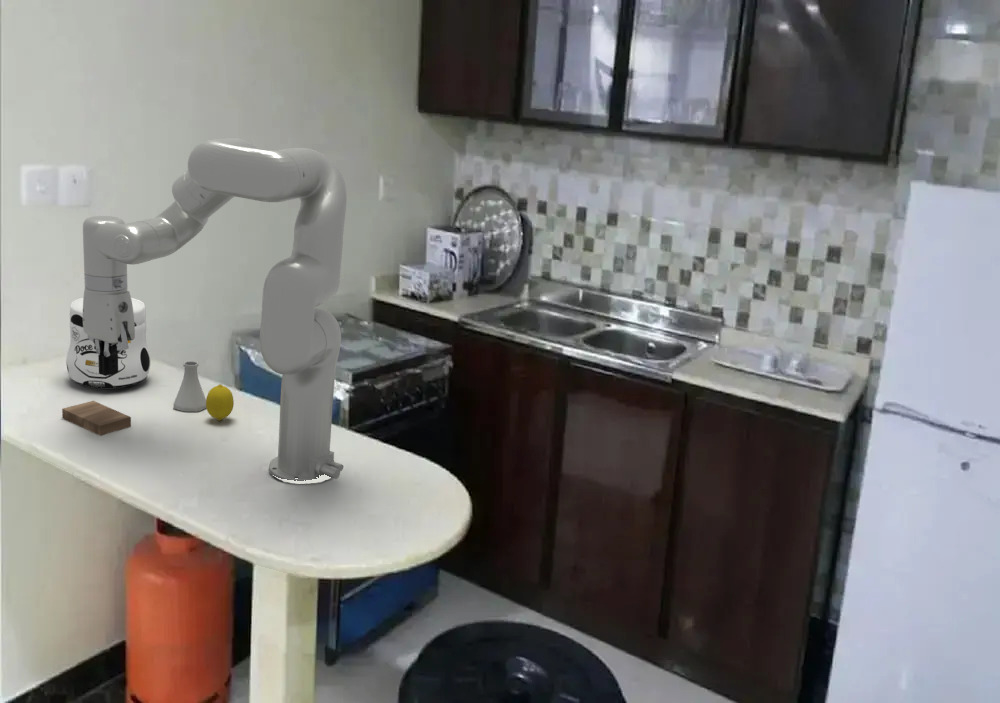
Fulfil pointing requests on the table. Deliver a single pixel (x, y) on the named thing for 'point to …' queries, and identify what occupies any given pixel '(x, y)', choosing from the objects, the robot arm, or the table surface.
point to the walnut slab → (96, 417)
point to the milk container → (85, 357)
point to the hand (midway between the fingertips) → (108, 373)
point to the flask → (190, 390)
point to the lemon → (219, 402)
